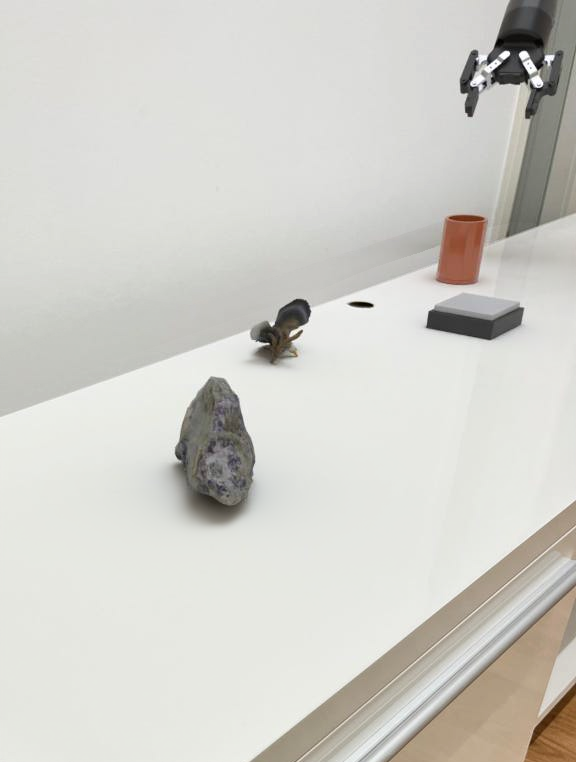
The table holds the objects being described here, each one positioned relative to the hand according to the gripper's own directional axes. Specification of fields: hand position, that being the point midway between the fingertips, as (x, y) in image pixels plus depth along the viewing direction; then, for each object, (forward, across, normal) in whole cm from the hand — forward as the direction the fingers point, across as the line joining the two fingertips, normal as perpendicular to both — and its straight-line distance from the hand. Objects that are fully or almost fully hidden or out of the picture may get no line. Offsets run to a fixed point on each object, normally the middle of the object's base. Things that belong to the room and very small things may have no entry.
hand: (498, 114), depth 157 cm
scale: (+41, +8, -10) cm, 43 cm away
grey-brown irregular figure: (+57, -11, -26) cm, 64 cm away
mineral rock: (+86, -3, -55) cm, 102 cm away
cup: (+24, 0, +7) cm, 25 cm away
